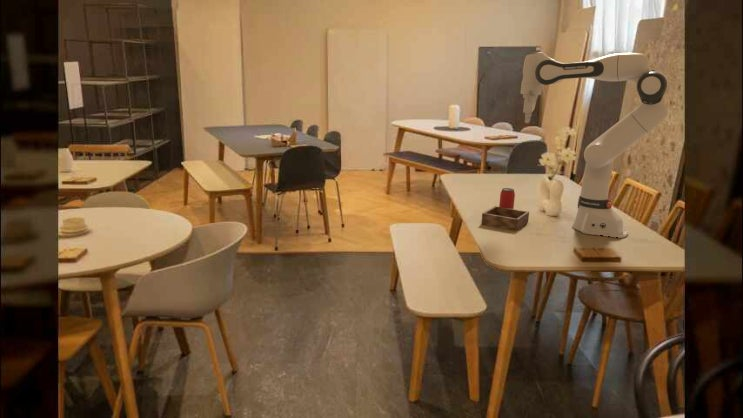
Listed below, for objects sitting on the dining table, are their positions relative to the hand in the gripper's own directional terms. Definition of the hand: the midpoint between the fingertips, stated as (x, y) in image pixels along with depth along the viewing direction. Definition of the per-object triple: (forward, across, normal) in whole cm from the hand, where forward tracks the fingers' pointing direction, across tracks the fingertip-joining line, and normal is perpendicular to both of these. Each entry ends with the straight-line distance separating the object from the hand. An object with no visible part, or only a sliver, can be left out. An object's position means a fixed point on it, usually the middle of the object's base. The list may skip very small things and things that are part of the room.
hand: (527, 121), depth 254 cm
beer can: (+44, +2, +6) cm, 44 cm away
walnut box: (+44, -15, +4) cm, 46 cm away
